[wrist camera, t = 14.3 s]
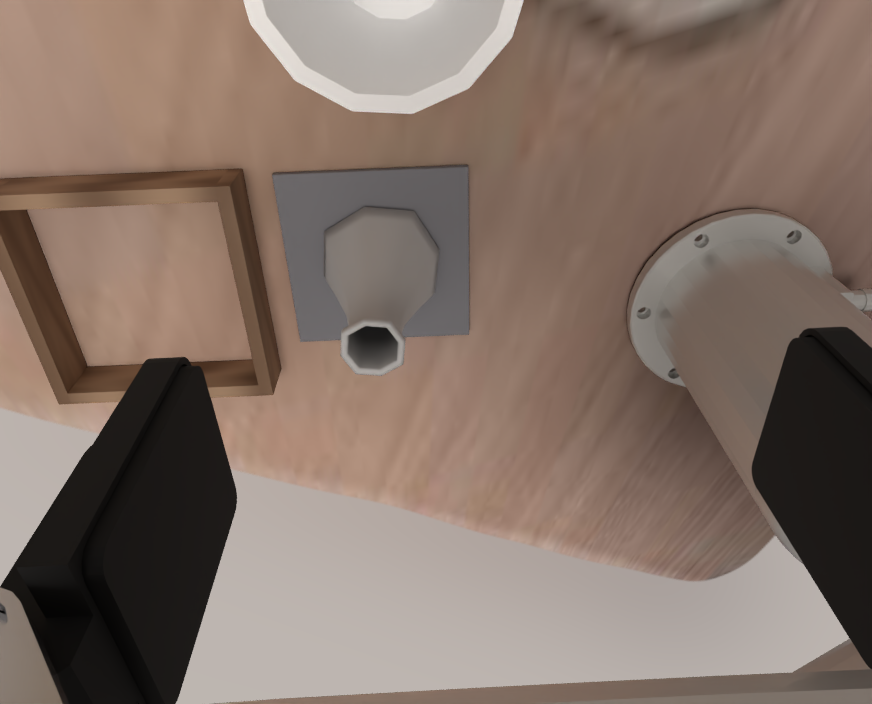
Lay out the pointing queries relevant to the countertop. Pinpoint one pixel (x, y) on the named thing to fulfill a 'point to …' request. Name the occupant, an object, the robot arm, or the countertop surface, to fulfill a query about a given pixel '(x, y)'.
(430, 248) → the flask
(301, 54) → the foam cup
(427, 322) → the charcoal mat
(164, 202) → the walnut frame
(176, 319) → the countertop surface
